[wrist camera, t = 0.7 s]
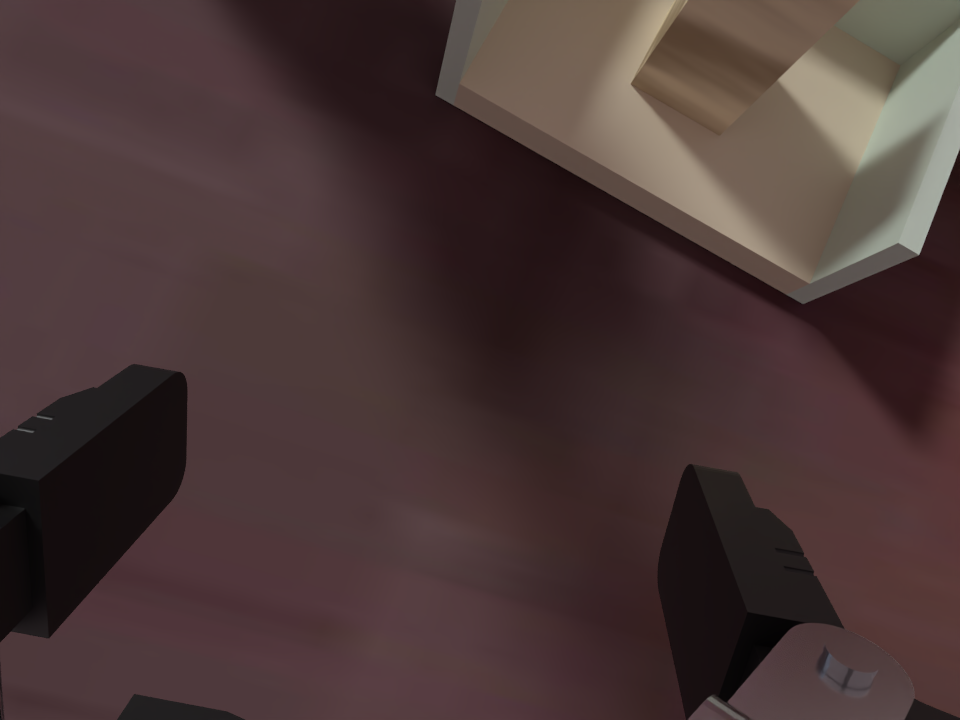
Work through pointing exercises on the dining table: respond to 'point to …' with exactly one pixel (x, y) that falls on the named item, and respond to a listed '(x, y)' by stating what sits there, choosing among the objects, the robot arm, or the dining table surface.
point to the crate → (734, 130)
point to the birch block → (729, 53)
